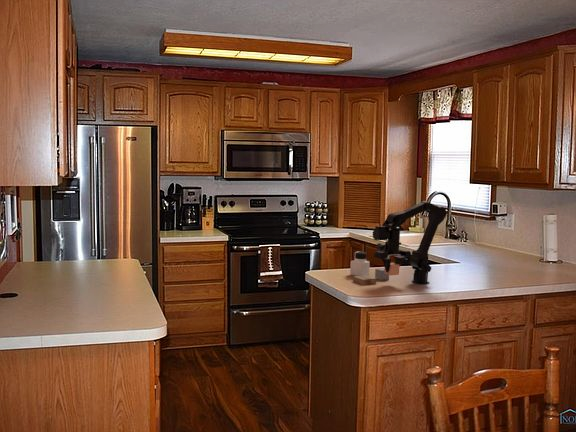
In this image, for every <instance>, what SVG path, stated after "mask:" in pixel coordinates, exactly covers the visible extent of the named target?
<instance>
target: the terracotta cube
mask: <svg viewBox="0 0 576 432" xmlns="http://www.w3.org/2000/svg"><path fill="white" fill-rule="evenodd" d="M383 268H384V274H388V275H389V276H398V275H399V274H400V267H399V264H396V263H395V262H391V263H390V268H389V272H386V269H385V266H384V267H383Z"/></svg>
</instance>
